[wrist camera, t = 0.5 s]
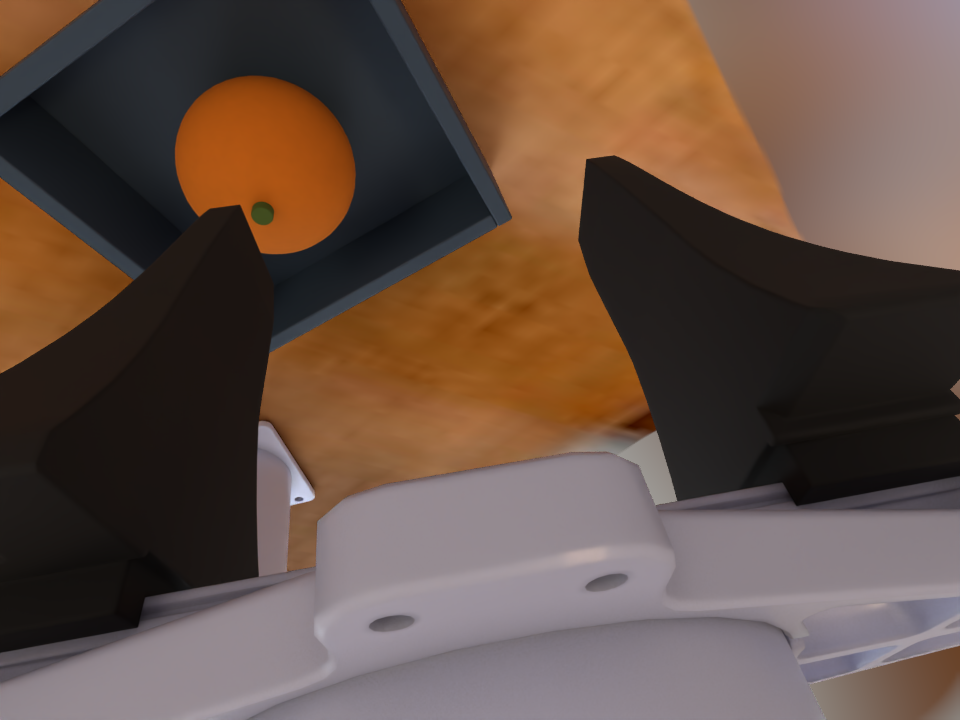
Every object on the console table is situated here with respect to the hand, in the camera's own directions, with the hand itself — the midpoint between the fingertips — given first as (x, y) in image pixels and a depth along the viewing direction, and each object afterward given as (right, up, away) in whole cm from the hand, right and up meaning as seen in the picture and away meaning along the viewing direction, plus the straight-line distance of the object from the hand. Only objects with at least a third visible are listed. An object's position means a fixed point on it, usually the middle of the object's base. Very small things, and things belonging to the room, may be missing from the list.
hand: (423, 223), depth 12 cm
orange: (-6, +5, +8) cm, 11 cm away
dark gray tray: (-6, +5, +8) cm, 11 cm away
